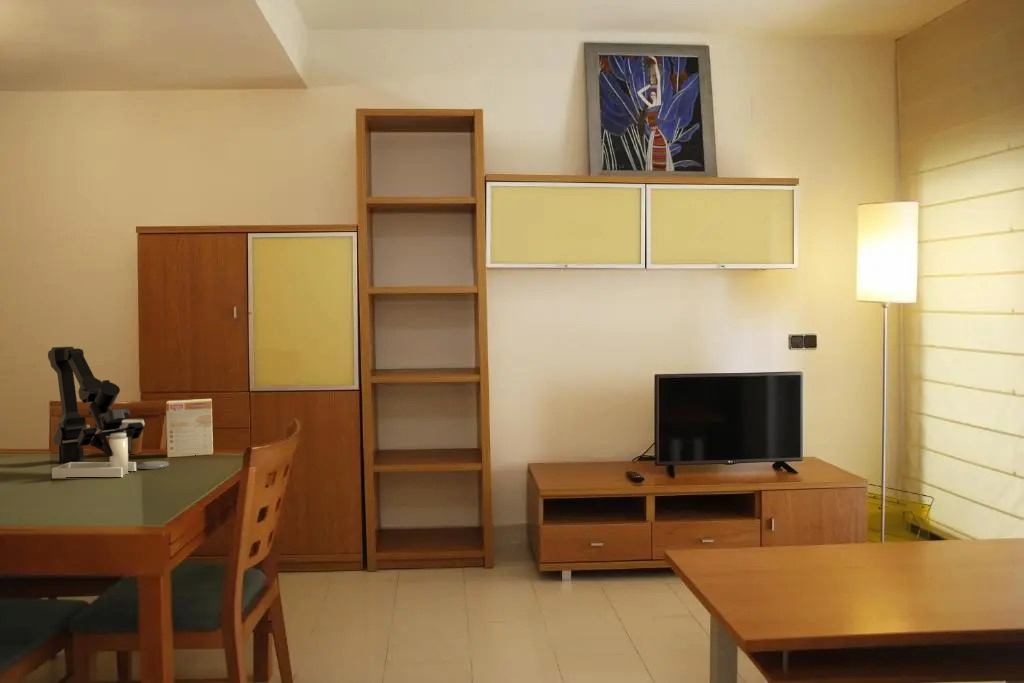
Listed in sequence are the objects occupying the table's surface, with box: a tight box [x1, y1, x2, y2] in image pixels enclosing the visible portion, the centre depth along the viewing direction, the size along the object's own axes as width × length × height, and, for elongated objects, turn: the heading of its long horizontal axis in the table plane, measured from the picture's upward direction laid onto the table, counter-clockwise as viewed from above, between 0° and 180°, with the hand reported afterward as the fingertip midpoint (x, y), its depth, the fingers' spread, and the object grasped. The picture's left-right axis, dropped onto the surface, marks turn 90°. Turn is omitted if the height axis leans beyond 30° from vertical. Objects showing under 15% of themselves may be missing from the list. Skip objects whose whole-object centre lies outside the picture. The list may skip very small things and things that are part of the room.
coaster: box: [136, 460, 169, 470], centre depth 262 cm, size 10×10×1 cm
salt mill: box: [108, 432, 129, 476], centre depth 250 cm, size 5×5×13 cm
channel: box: [51, 461, 137, 479], centre depth 250 cm, size 21×10×3 cm, turn 91°
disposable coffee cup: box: [120, 418, 146, 456], centre depth 286 cm, size 10×10×12 cm
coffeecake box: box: [165, 398, 214, 458], centre depth 284 cm, size 15×7×20 cm, turn 110°
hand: (120, 454), depth 249 cm, fingers closed on salt mill, 5 cm apart
